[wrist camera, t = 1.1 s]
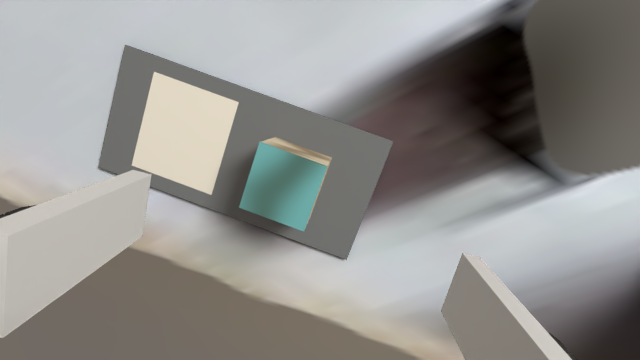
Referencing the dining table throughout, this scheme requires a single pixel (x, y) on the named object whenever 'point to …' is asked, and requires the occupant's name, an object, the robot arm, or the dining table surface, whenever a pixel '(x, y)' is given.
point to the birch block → (285, 182)
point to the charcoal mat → (233, 146)
